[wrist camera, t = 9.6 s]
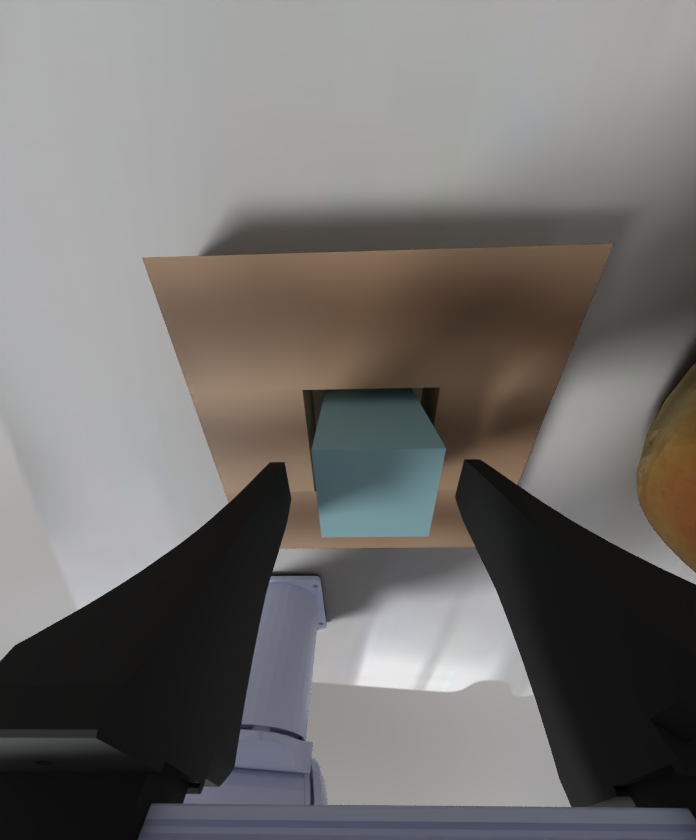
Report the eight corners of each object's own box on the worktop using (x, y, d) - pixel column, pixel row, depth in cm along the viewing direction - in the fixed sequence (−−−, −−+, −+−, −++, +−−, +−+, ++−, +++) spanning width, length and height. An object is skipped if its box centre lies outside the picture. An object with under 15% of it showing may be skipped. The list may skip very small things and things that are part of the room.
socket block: (472, 509, 19) (492, 546, 16) (259, 512, 19) (244, 548, 16) (550, 253, 11) (613, 243, 8) (190, 263, 11) (142, 257, 9)
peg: (402, 450, 16) (428, 536, 10) (331, 451, 16) (321, 537, 10) (408, 383, 13) (446, 448, 8) (326, 385, 13) (311, 450, 8)
